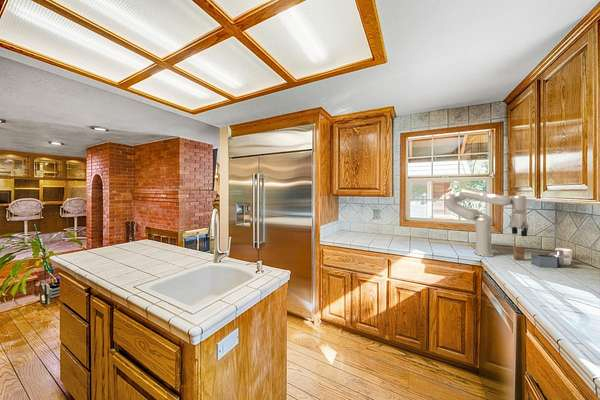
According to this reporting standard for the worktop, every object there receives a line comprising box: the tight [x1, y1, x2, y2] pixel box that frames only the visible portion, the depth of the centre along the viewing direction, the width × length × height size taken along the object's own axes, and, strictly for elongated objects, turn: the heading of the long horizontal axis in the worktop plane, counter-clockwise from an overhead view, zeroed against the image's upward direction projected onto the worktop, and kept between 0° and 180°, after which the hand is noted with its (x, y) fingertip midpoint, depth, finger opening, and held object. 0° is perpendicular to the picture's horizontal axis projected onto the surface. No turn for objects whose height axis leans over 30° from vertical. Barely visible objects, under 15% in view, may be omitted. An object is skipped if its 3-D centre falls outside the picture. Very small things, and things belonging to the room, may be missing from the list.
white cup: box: [554, 247, 573, 266], centre depth 157 cm, size 8×8×10 cm
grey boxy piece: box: [530, 250, 570, 269], centre depth 152 cm, size 9×18×11 cm, turn 76°
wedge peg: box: [512, 245, 525, 262], centre depth 167 cm, size 3×5×10 cm, turn 76°
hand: (519, 235), depth 166 cm, fingers open, 9 cm apart
